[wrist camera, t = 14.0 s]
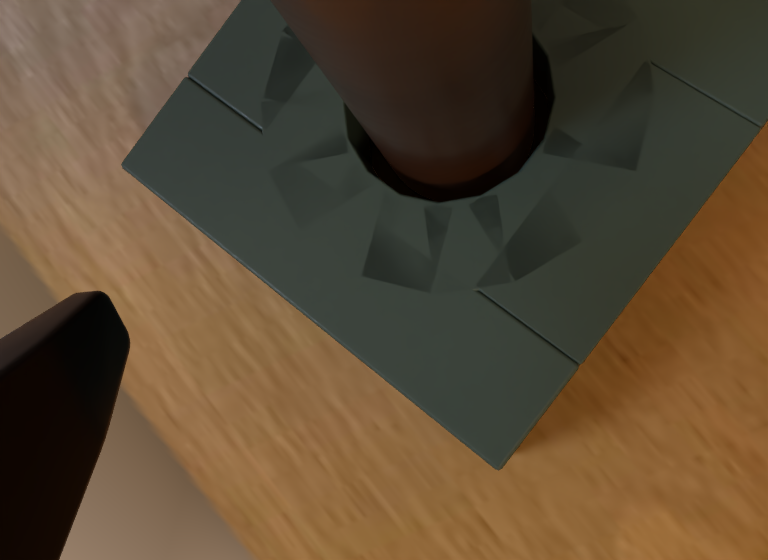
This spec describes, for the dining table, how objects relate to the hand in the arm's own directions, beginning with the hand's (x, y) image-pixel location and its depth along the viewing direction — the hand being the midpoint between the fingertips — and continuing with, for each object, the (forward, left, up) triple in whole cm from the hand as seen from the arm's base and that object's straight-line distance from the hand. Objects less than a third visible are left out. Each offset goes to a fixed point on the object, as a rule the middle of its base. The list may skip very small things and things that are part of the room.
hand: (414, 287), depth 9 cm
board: (+4, +3, -9) cm, 10 cm away
